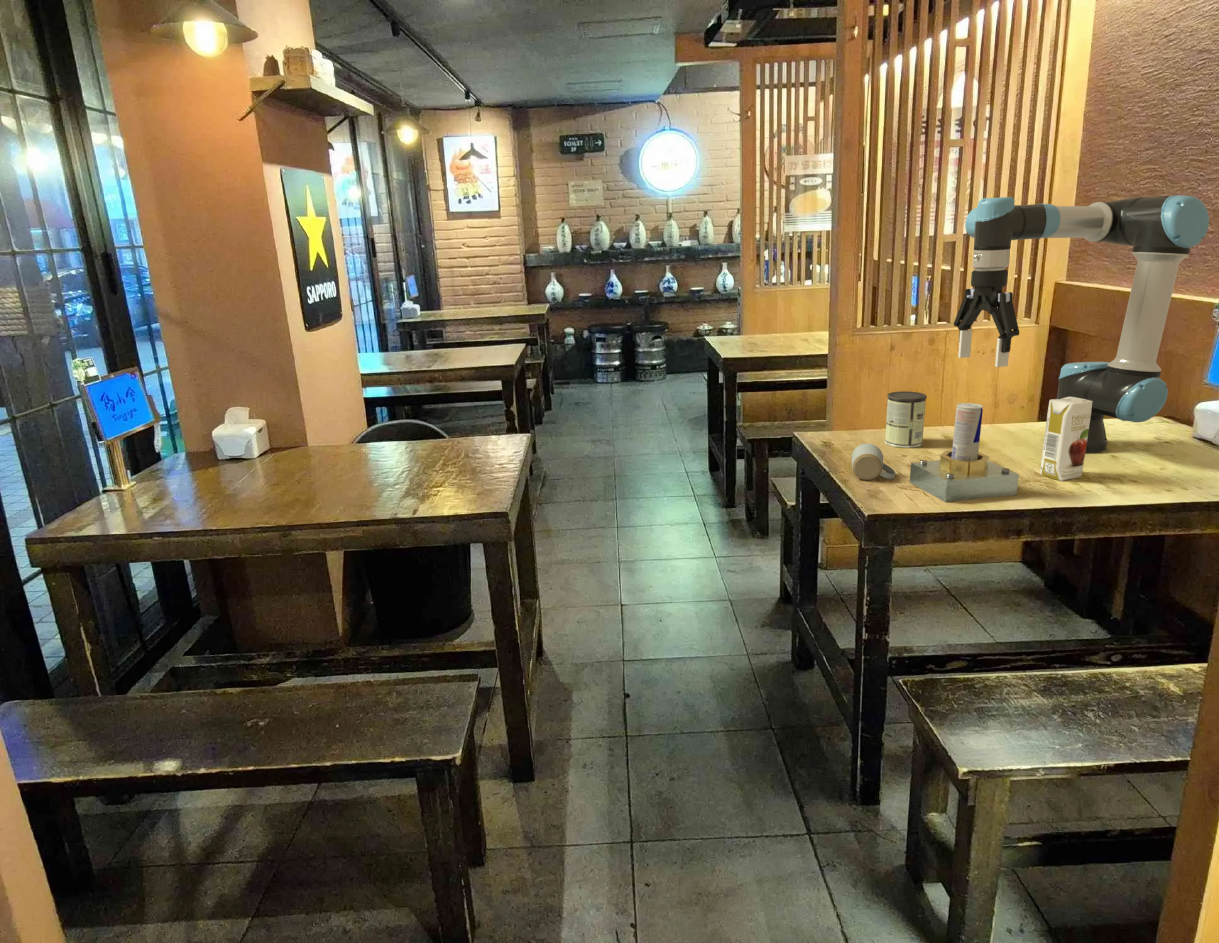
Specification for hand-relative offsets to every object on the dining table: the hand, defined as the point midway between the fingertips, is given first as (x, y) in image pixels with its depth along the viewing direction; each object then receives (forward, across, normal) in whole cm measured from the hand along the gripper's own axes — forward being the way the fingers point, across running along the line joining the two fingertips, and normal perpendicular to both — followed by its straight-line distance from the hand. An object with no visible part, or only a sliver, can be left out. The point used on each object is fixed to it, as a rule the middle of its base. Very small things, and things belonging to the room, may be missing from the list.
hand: (982, 361), depth 190 cm
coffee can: (+29, -33, +2) cm, 44 cm away
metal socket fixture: (+28, +6, -8) cm, 30 cm away
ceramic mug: (+28, -8, -22) cm, 37 cm away
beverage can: (+24, +6, -7) cm, 25 cm away
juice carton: (+29, +5, +20) cm, 36 cm away
